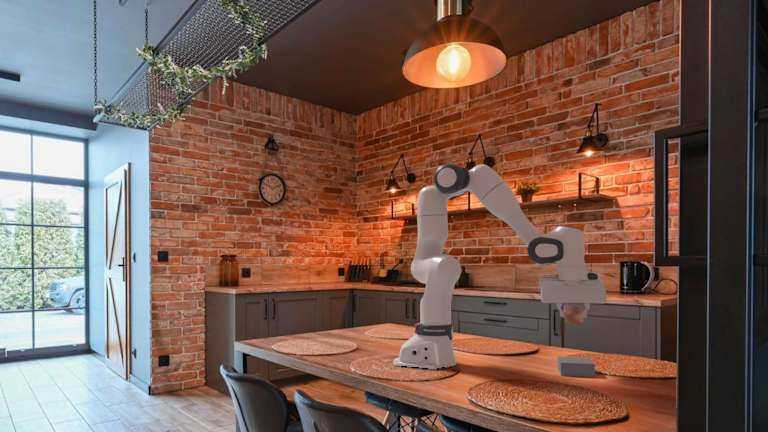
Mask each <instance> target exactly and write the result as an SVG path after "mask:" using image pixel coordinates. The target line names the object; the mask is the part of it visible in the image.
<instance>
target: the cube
mask: <svg viewBox="0 0 768 432" xmlns="http://www.w3.org/2000/svg"><path fill="white" fill-rule="evenodd" d="M563 308H564V309H563V311H565V312H566V314H565V315H566V317H564V322H565V323H566V324H584V318H583V312H584V310H583V306H581V305H564V306H563Z"/></svg>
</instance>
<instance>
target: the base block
mask: <svg viewBox="0 0 768 432" xmlns="http://www.w3.org/2000/svg"><path fill="white" fill-rule="evenodd" d="M595 368H596V367H595V363H594V361H593V360H592V359H591V358H590V357H587V356H586V357H585V356H584V357H583V356H557V370H558V372H559V373H560V376H562V377H563V376H565V377H585V378H586V377H587V378H596V370H595Z"/></svg>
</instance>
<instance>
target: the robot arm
mask: <svg viewBox="0 0 768 432" xmlns="http://www.w3.org/2000/svg"><path fill="white" fill-rule="evenodd" d="M433 182H434V184H432V185H426V186H425V187H423V188H421V189H420V190H419V192H418V197H417V204H416V205H417V207H416V220H417V221H416V222H417V243H416V249H415V255H414V258H413V260H412V262H411V265H410V273H411V275H412V277H413V278H414V279H415V280H416V281H418V282H420V283H421V284H424V285H425V289H424V292H423V296H422V298H421V299H420V302H419V312H420V313H419V319H420V320H419V321H420V322H417V323H415V326H414V334H413V335H412V336H411V337H410V338H409V339H407V340H406V341H405V342H404V343H403V344H402V345H401V347H400V348H399V349H400V350H399V354H398V356H397V357H396V358H394V360H393V361H392V365H393V364H394V365H393V366H394V367H401V366H407V367H406V368H411V367H419V368H418V369H422V368H428V369H427V370H438V369H437V368H439V369H443V368H442V367H445V368H450V366H451V367H454V366H456V365H457V364H458V363H457V360H456V355H455V352H454V351H455V350H454V346H453V345H454V344H453V339H454V327H453V323H452V297H453V295H454V294H453V292H454V289H455V285H456V284H457V281H458V280H459V279H460V278H461V274H462V267H461V264H460V262H459V260H458V259H457V258H455V257H453V256H451V255H449V254H445V253H444V248H445V244H446V242H447V240H448V238H449V222H448V217H449V216H448V202H449V201H451V200H452V201H453V200H454V199H457V198H461V197H462V196H464V195H466V194H467V192H469V193H471V194H473V195H474V196H475V198H477V200H478V201H479V202H480V204H482V206H483V207H484V208H485V209H486V210H487V211H489V213H491V214H492V215H493V216H495V217H496V218H498V219H500V220H502V221H503V222H504V223H506V224H507V225H508V226H510V227H511V229H512V230H513V231H514V232H515V233H516V234H517V236H519V238H520V239H521V240H522V241H523V243H524V245H526V248H527V255H528V257H529V259H530V260H531V261H532V262H534V263H535V264H537V265H538V266H543V267H544V266H549V265H551V264H554V263H556V268H557V272H556V273H557V274H543V275H542V276H540V277H539V279H538V286H539V288H540V297H539V298H540V301H541V302H542V303H543V304H556V307H557V309H558V311H559V313H560V314H559V315H560V318H565V317H566V315H565V314H566V312H565V311H564V310H562V308H561V307H563V306H562V304H583V305H584V307H585V308H584V310H583V319H584V318H586V319H587V318H588V315H587V314H588V312H589V310H590V308H591V304H605V303H606V302H607V299H608V298H607V291H606V287H605V284H604V283H603V282H602V281H601V280H602V274H601V273H599V272H595V271H592V270H591V269H589V270H587V268H586V267H587V265H586V262H585V254H586V245H585V238H584V234H583V231H582V230H581V229H580V228H578V227H576V226H571V225H558V226H557V227H556V228H555V229H552V230H551V231H549V232H547V233H545V234H542V233H541V232H539V230H538V229H537V228H536V227H535V226H534V224H533V223H532V222H531V221H530V220H529V219H528V217H527V216H526V215H525V213H524V212H523V210H522V208H521V206H520V204H519V201H518V199H517V197H516V195H515V193H514V191H513V190H512V188H511V187H510V186H509V185H508V183H507V182H506V181H505V180H504V178H502V176H500V174H498V173H497V172H496V171H495V170H494V169H493V168H491V167H490V166H489V165H487V164H483V163H481V164H478V165H477V164H476V165H475V166H474V167H472V168H471V169H469V170H468V168H467V167H463V166H461V165H459V164H458V165H457V164H454V163H445V164H442V165H440V166H438V168H436V170H435V172H434V176H433Z"/></svg>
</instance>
